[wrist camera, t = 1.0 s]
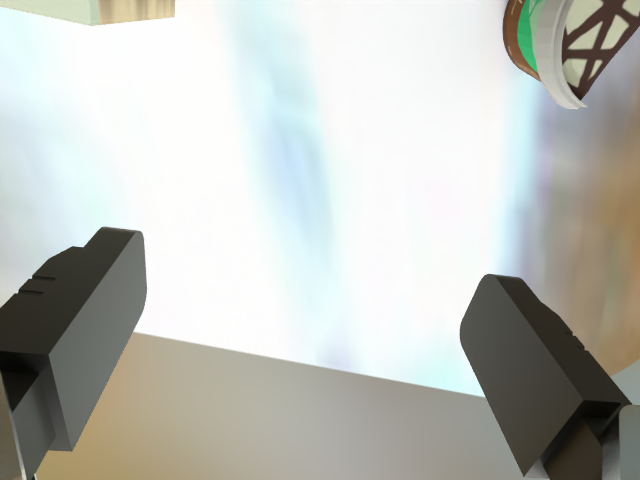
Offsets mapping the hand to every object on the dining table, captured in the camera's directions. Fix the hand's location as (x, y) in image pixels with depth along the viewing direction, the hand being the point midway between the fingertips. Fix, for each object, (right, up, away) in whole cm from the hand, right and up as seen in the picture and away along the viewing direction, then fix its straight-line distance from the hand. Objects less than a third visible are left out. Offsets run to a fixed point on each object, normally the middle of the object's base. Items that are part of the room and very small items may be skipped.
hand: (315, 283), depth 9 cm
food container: (+18, +21, +23) cm, 36 cm away
